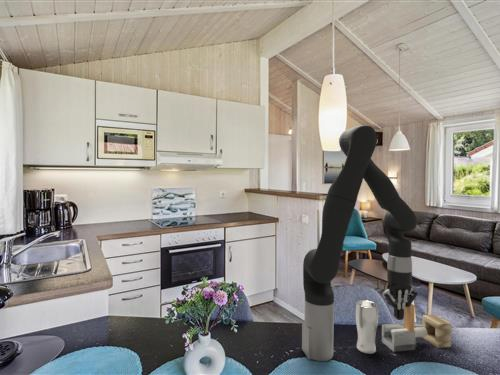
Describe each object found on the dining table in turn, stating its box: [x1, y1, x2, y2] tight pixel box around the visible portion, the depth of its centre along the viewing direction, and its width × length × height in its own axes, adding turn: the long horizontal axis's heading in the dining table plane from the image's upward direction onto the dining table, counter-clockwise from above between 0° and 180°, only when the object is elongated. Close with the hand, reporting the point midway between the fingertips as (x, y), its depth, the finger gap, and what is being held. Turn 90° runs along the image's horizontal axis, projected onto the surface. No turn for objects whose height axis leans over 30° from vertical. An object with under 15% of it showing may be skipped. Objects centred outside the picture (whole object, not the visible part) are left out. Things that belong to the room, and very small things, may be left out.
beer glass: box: [355, 299, 379, 355], centre depth 97 cm, size 7×7×15 cm
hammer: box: [391, 303, 428, 338], centre depth 100 cm, size 12×3×12 cm, turn 100°
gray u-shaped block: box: [381, 322, 417, 353], centre depth 99 cm, size 8×6×6 cm
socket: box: [421, 313, 452, 349], centre depth 102 cm, size 5×7×8 cm
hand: (398, 318), depth 99 cm, fingers closed
